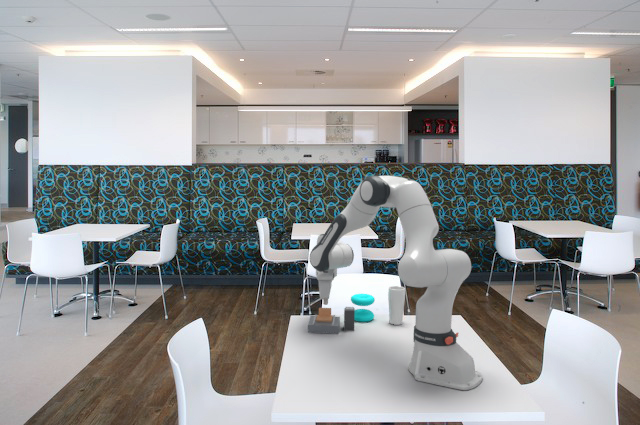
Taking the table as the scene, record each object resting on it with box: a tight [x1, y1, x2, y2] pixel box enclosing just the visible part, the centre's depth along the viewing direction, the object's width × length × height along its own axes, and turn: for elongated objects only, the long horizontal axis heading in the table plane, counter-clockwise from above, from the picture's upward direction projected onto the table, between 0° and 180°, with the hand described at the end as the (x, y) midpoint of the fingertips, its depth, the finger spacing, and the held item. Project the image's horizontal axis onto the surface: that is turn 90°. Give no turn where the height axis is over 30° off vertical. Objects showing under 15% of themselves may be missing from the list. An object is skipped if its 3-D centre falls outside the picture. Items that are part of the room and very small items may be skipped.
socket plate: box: [307, 314, 341, 335], centre depth 200 cm, size 12×12×4 cm
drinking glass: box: [387, 285, 406, 326], centre depth 206 cm, size 7×7×15 cm
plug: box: [343, 306, 356, 332], centre depth 199 cm, size 4×4×9 cm
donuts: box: [350, 293, 376, 323], centre depth 212 cm, size 10×10×10 cm
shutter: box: [316, 307, 334, 322], centre depth 201 cm, size 6×6×4 cm
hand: (325, 303), depth 209 cm, fingers closed
